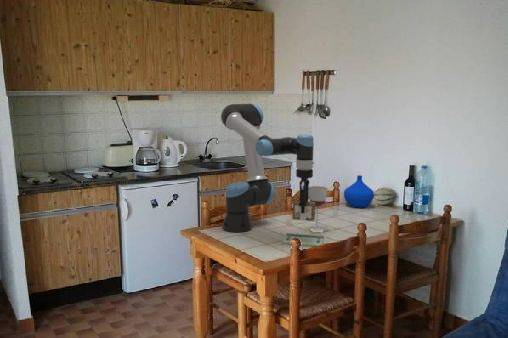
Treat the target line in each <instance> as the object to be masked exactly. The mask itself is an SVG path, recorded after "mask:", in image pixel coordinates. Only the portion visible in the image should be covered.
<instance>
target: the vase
mask: <svg viewBox="0 0 508 338" xmlns="http://www.w3.org/2000/svg"><path fill="white" fill-rule="evenodd" d="M343 198H344V200H345V202H346V204H348V205H349V206H350V207H352V208H356V209H364V208H367V207H369V206H370V204H372V202H373V201H374V198H375V192H374V190H373V189H372V188H370V187H369V186H368V185H367V184H365V183H364V181H363V175H361V174H360V175H359V174H358V175H357V176H356V181H355V182H354V183H352V184H351V185H350V186H348V187H346V188H345V189H344V191H343Z"/></svg>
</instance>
